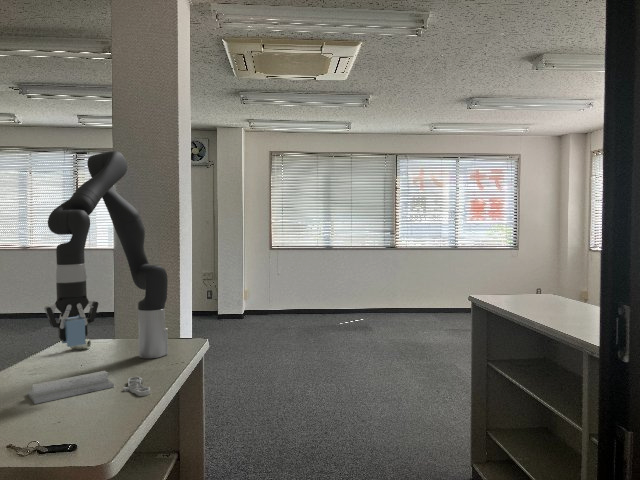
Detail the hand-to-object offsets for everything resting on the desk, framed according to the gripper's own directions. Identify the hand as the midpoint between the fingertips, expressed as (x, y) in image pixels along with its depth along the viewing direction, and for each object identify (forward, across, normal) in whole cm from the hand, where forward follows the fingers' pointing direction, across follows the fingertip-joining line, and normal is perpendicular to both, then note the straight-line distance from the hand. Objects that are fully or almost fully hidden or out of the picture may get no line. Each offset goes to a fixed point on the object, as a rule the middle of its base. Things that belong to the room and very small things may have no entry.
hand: (73, 339), depth 133 cm
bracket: (+16, -14, +11) cm, 23 cm away
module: (+1, 0, 0) cm, 1 cm away
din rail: (+15, +1, -1) cm, 15 cm away
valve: (+16, -15, -51) cm, 56 cm away
